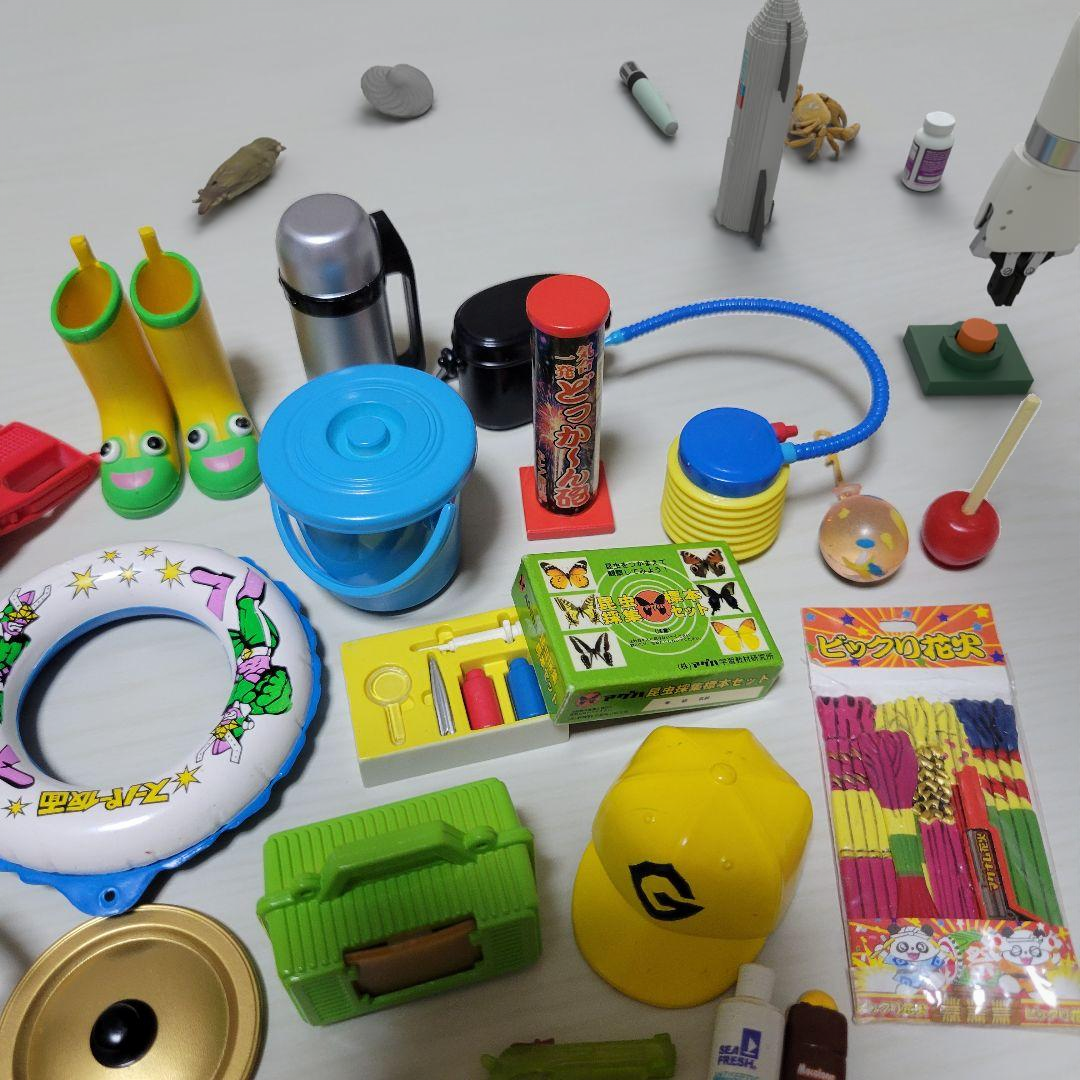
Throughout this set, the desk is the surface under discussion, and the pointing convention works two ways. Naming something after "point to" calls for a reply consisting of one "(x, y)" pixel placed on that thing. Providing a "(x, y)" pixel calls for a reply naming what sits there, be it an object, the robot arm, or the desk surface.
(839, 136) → the crab model
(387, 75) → the seashell
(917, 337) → the button box
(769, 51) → the rocket model
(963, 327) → the press button
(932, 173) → the pill bottle
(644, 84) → the flashlight
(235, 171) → the decorative bird model
